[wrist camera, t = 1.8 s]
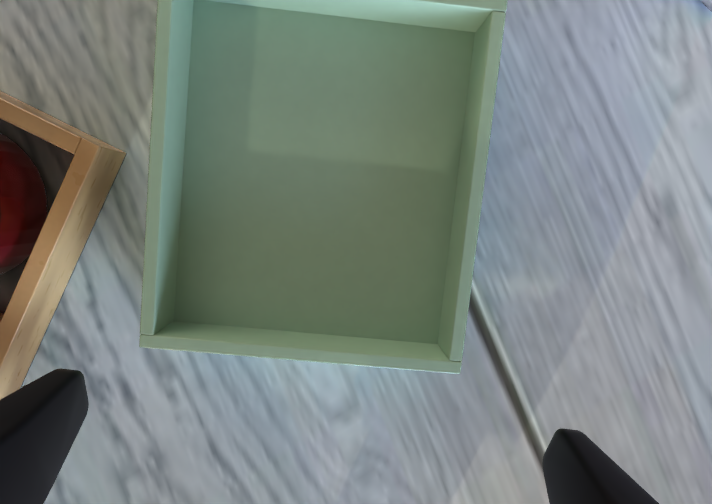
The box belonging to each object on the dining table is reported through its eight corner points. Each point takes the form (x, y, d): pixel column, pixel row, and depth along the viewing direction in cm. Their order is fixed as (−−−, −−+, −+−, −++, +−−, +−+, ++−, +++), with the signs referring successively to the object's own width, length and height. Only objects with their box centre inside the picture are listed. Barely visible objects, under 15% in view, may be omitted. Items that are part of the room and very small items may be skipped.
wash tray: (445, 352, 23) (460, 374, 20) (165, 329, 23) (138, 347, 20) (485, 25, 22) (508, -4, 19) (185, -11, 21) (159, -47, 18)
